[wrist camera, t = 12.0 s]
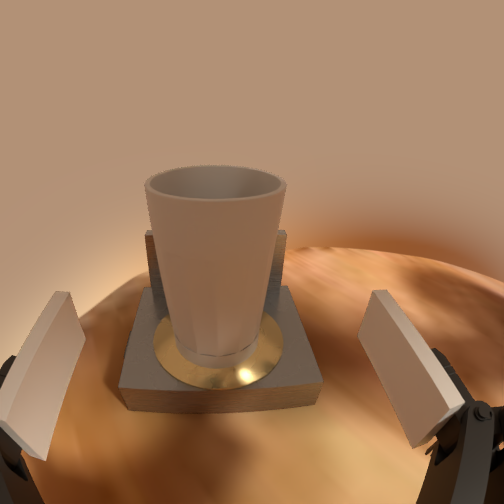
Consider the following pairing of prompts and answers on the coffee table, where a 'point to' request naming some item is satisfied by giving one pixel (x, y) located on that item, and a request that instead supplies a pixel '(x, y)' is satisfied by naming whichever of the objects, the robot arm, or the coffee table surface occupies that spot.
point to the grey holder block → (224, 379)
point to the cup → (215, 255)
